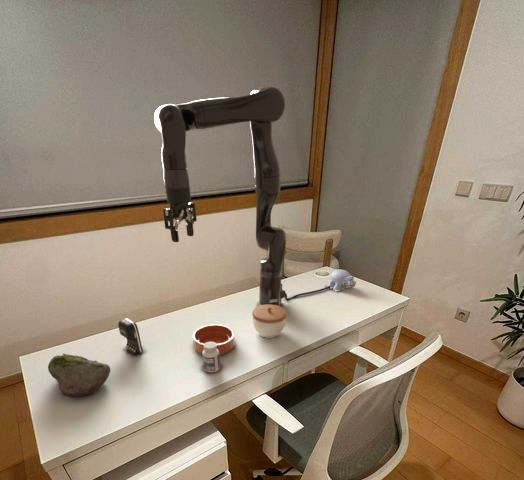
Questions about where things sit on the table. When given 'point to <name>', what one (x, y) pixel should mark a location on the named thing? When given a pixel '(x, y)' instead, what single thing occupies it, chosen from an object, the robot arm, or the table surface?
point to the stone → (78, 374)
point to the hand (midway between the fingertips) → (183, 238)
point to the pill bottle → (211, 357)
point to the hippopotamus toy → (341, 279)
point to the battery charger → (131, 335)
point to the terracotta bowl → (214, 338)
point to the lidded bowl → (269, 320)
